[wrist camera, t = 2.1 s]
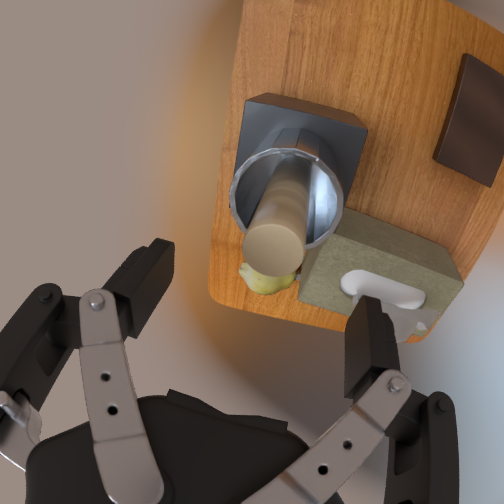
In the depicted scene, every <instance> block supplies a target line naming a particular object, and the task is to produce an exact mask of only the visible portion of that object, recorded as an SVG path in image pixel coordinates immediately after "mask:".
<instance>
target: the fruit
mask: <svg viewBox="0 0 504 504" xmlns="http://www.w3.org/2000/svg"><path fill="white" fill-rule="evenodd" d="M239 273H240V275H241V276H242V278H243V279H244V280H245V281H246V283H247V285H248V287H249V288H250V289H251V290H252V291H254V292H255V293H257V294H261V295H272V294H275V293H277V292H279V291H280V290H283V289H287V288H289V287H290V285H291V284H292V283H293V281H294V280H300V275H301V274H300V273H297V269H296V270H295V271H294V272H292V273H291V274H288V275H286V276H281V277H271V276H266V275H263V274H260V273H258V272H257V271H255V270H254V269H252V268H251V267H250V266H249V265H248V263H247V262H246V261H244V262H243V263H242V265H241V267H240V269H239Z"/></svg>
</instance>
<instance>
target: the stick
mask: <svg viewBox="0 0 504 504" xmlns="http://www.w3.org/2000/svg"><path fill="white" fill-rule="evenodd" d="M311 181H312V168H311V165H310V163H309V162H308V161H307V160H306V159H304V158H302V157H299V156H297V155H287V156H284V157H283V158H281V159H280V160H279V162H278V163H277V165H276V167H275V170H274V172H273V174H272V176H271V178H270V181H269V183H268V185H267V187H266V190H265V192H264V194H263V196H262V198H261V201H260V203H259V205H258V207H257V210H256V212H255V214H254V216H253V219H252V221H251V223H250V225H249V228H248V230H247V232H246V234H245V237H244V239H243V242H242V253H243V256H244V258H245V260H246V262H247V263H248V265H249V266H250V267H251V268H252V269H254V270H255V271H257V272H258V273H260V274H263V275H266V276H271V277H281V276H286V275H288V274H291V273H292V272H294V271H295V270H296V269H298V267H299V266H300V265H301V263H302V261H303V259H304V253H305V244H306V235H307V225H308V215H309V204H310V193H311Z"/></svg>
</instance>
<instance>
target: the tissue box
mask: <svg viewBox="0 0 504 504" xmlns="http://www.w3.org/2000/svg"><path fill="white" fill-rule="evenodd" d="M463 286H464V282H463V280H462V278H461V276H460V274H459V272H458V270H457V268H456V266H455V264H454V262H453V260H452V258H451V256H450V254H449V253H448V251H447V249H446V248H445V247H443V246H440V245H438V244H436V243H434V242H431V241H429V240H427V239H424V238H422V237H420V236H417V235H415V234H413V233H410V232H408V231H406V230H403V229H401V228H398V227H396V226H393V225H391V224H388V223H386V222H383V221H381V220H378V219H376V218H373V217H371V216H368V215H365V214H363V213H360V212H357V211H355V210H352V209H349V208H347V207H344V210H343V213H342V218H341V220H340V221H339V224H338V227H337V230H336V233H335V234H332V235H331V236H330V237H328V238H327V239H326V240H325V241H323V242H322V243H321V244H319V245H318V246H316V247H314V248H311V249H308V250H307V252H306V254H305V257H304V259H303V262H302V270H301V275H300V283H299V292H298V300H299V301H301V302H304V303H307V304H311V305H314V306H317V307H320V308H323V309H327V310H330V311H333V312H337V313H340V314H343V315H347V316H350V315H351V314H352V312H353V310H354V308H355V307H356V305H357V303H358V301H359V299H360V298H361V296H362V295H367V296H371V297H374V298H378V299H380V300H381V306H382V312H384V313H388V315H389V317H390V318H391V320H392V322H393V324H394V330H395V336H396V342H398V343H401V342H406V340H407V339H408V338H409V337H410V336H411V334H412V335H416V336H420V337H423V336H424V335H425V334H426V333H427V332H428V331H429V329H430V328H431V327H432V326H433V325H434V323H435V322H436V321H437V320H438V319H439V317H440V316H441V315H442V314H443V312H444V311H445V310H446V309H447V307H448V306H449V305H450V304H451V302H452V301H453V300H454V298H455V297H456V296H457V294H458V293H459V292H460V290H461V289H462V288H463Z"/></svg>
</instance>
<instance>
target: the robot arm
mask: <svg viewBox="0 0 504 504" xmlns="http://www.w3.org/2000/svg"><path fill="white" fill-rule="evenodd" d="M174 252H175V245H174V242H170V241H167V240H163V239H160V238H156V239H155V240H154V241H153V242H152V243H151V245H150V246H149V247H145V246H142V247H140V248H139V249H136V250H135V251H133V252H132V253H131V254H130V255H129V257H128V258H127V259H126V261H124V262H123V263H122V265H121V267H119V268H118V269H117V270H116V271H115V273H114V274H113V275H112V276H111V277H110V279H109V280H108V281H107V282H106V283H105V285H104V286H103V287H102V288H101V289H93V290H90V291H88V292H86V293H85V294H84V295H83V296H82V297H75V296H66V295H63V294H62V291H61V288H60V287H59V286H58V285H56V284H53V283H46V284H42V285H40V286H38V287H37V288H36V289H35V290H34V291H33V292H32V293H31V294H30V295H29V297H28V298H27V299H26V300H25V301H24V303H23V304H22V305H21V306H20V308H19V309H18V310H17V311H16V313H15V314H14V315H13V316H12V318H11V319H10V320H9V322H8V323H7V324H6V326H5V327H4V328H3V330H2V331H1V332H0V455H2V456H4V457H5V458H7V459H8V460H10V461H11V462H12V463H14V464H15V465H16V466H18V467H19V468H21V469H22V470H24V471H25V475H26V500H25V504H344V502H343V501H342V499H341V498H340V496H339V494H338V493H337V490H338V489H339V488H340V487H341V486H342V485H343V484H344V483H345V482H346V481H347V480H348V478H350V476H351V475H352V474H353V473H354V472H355V471H356V470H357V469H358V468H359V466H360V465H361V464H362V463H363V462H364V461H365V459H366V458H367V457H368V456H369V455H370V453H371V452H372V451H373V450H374V449H375V447H376V446H377V445H378V444H379V442H380V441H381V440H382V439H383V437H384V436H387V437H389V454H388V467H387V478H386V488H385V498H384V504H459V452H458V437H457V425H456V415H455V408H454V404H453V402H452V400H451V398H450V397H449V396H448V395H446V394H445V393H443V392H439V391H438V392H434V393H432V394H431V395H430V396H429V397H427V396H425V395H423V394H421V393H419V392H416V391H415V390H413V389H411V384H410V381H409V379H408V378H407V377H406V376H405V375H404V374H403V373H402V372H401V371H400V364H399V356H398V349H397V343H396V336H395V330H394V324H393V322H392V320H391V318H390V317H389V315H388V313H384V312H382V306H381V300H380V299H378V298H374V297H371V296H367V295H362V296H361V298H360V299H359V301H358V303H357V305H356V307H355V308H354V310H353V312H352V314H351V315H350V317H349V319H348V321H347V324H346V328H345V381H344V383H345V385H344V398H349V399H353V405H352V406H351V407H350V408H349V410H347V412H345V414H344V415H343V416H342V417H341V418H340V419H339V420H338V421H337V422H336V423H335V424H334V425H333V426H332V427H330V428H329V429H328V430H327V431H326V432H325V433H324V434H323V435H322V436H321V437H320V438H319V439H318V440H317V441H316V442H314V443H313V444H312V445H311V446H310V447H309V446H308V445H307V444H306V443H305V442H304V441H303V440H302V439H301V438H299V437H298V436H297V435H296V434H294V433H292V432H291V431H288V430H287V425H288V422H285V421H281V420H276V419H271V418H267V417H262V416H254V415H253V416H252V415H228V414H224V413H222V412H221V411H219V410H217V409H215V408H213V407H212V406H210V405H208V404H207V403H204V402H203V401H201V400H200V399H198V398H195V397H192V396H189V395H186V394H183V393H180V392H177V391H174V390H171V389H169V391H168V393H167V396H164V395H153V396H145V397H141V398H137V395H136V392H135V388H134V384H133V380H132V376H131V372H130V368H129V364H128V360H127V356H126V351H125V346H124V341H125V340H126V338H127V336H130V337H132V338H135V339H137V337H138V336H139V334H140V332H141V331H142V329H143V327H144V325H145V324H146V322H147V321H148V319H149V317H150V316H151V314H152V312H153V311H154V309H155V308H156V306H157V304H158V303H159V301H160V300H161V298H162V296H163V295H164V293H165V292H166V290H167V288H168V287H169V285H170V283H171V281H172V278H173V274H174ZM74 349H79V355H80V365H81V373H82V380H83V387H84V394H85V400H86V406H87V411H88V416H89V421H88V422H85V423H83V424H81V425H79V426H76V427H74V428H72V429H69V430H67V431H65V432H62V433H60V434H57V435H55V436H53V437H50V438H47V439H45V440H43V441H41V442H40V440H39V435H40V433H41V427H42V420H41V416H40V414H39V413H38V412H39V410H40V408H41V407H42V405H43V403H44V401H45V399H46V397H47V395H48V394H49V392H50V390H51V388H52V386H53V384H54V383H55V381H56V379H57V377H58V376H59V374H60V372H61V370H62V368H63V367H64V365H65V364H66V362H67V360H68V358H69V357H70V355H71V353H72V352H73V350H74Z"/></svg>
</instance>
